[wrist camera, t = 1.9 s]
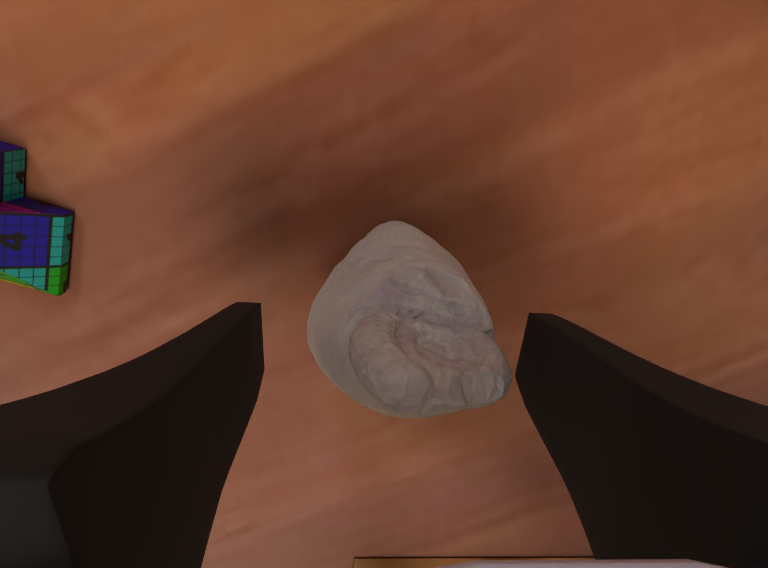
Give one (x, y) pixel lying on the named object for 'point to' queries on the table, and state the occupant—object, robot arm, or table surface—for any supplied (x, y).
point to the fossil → (406, 328)
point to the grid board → (431, 561)
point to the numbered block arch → (30, 231)
